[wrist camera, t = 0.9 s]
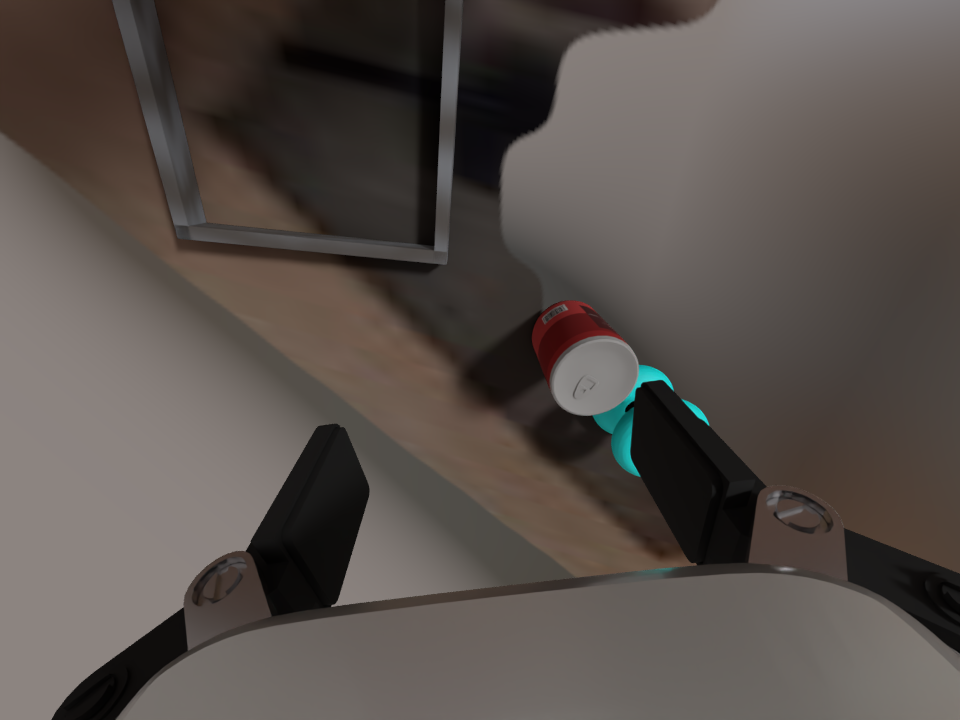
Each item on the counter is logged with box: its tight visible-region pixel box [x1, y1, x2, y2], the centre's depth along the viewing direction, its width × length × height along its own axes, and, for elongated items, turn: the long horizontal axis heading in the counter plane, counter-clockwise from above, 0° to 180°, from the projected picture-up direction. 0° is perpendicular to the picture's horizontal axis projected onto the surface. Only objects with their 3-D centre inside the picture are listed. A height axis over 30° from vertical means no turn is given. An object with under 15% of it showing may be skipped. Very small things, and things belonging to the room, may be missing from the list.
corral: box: [112, 0, 463, 265], centre depth 29 cm, size 23×24×2 cm
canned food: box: [532, 301, 639, 416], centre depth 35 cm, size 8×8×11 cm
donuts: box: [593, 365, 709, 477], centre depth 40 cm, size 10×10×10 cm
